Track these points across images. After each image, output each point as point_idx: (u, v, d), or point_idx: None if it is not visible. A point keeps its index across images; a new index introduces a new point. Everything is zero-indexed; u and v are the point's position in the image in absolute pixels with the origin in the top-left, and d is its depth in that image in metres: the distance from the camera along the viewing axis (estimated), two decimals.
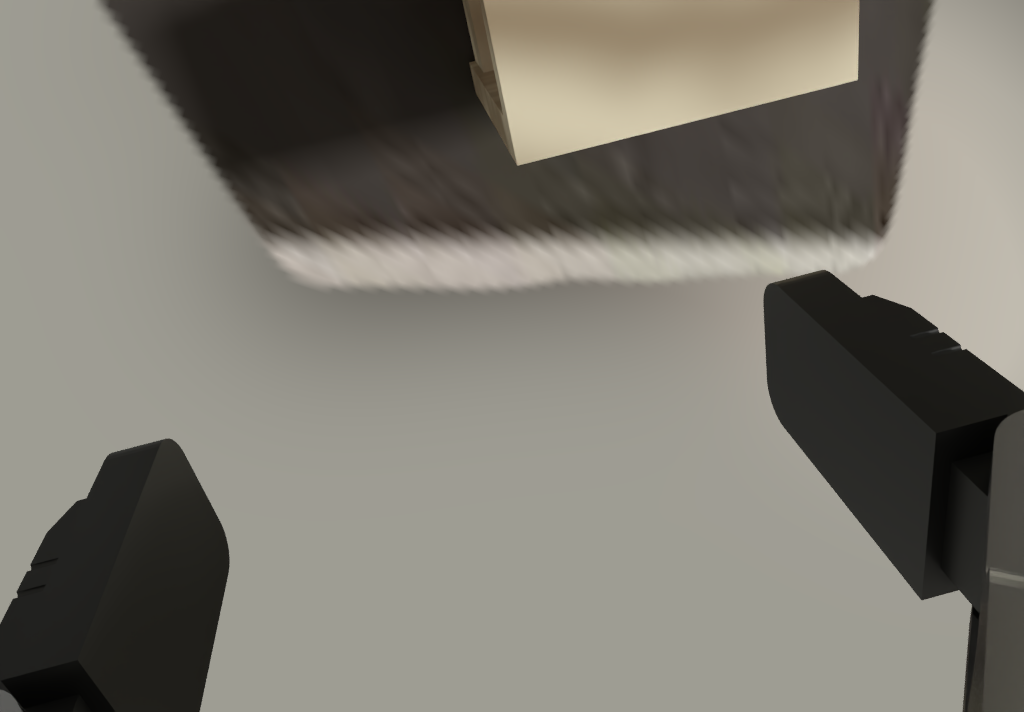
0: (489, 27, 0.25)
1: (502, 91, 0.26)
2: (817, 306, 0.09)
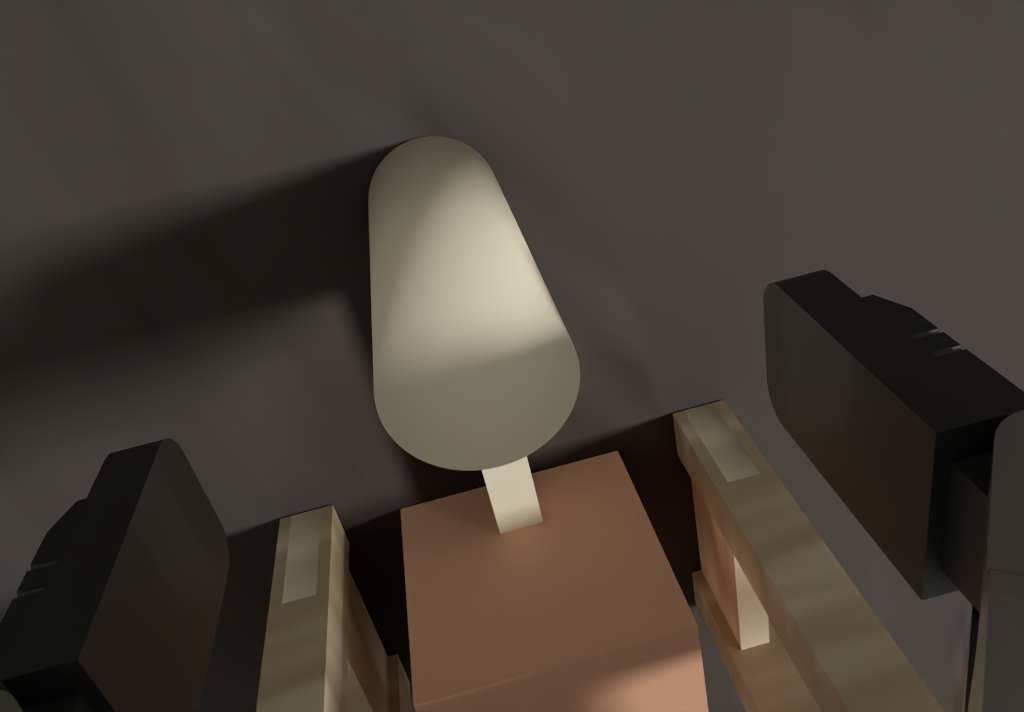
0: None
1: None
2: (817, 306, 0.09)
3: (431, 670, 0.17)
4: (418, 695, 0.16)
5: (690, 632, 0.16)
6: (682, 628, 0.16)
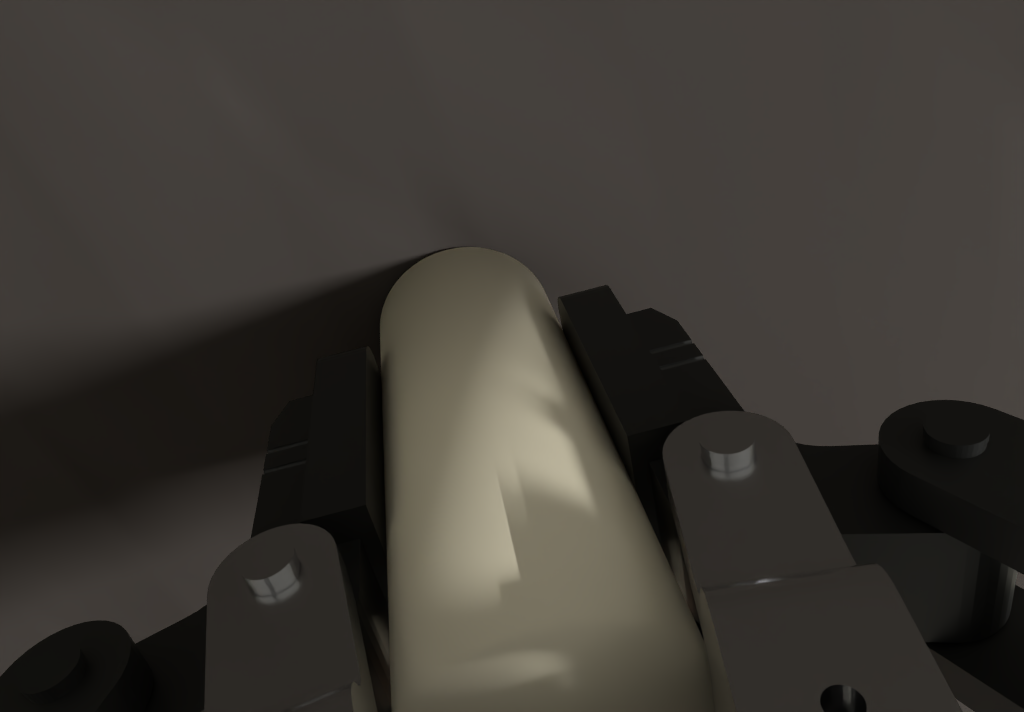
0: None
1: None
2: (584, 319, 0.10)
3: None
4: None
5: None
6: None
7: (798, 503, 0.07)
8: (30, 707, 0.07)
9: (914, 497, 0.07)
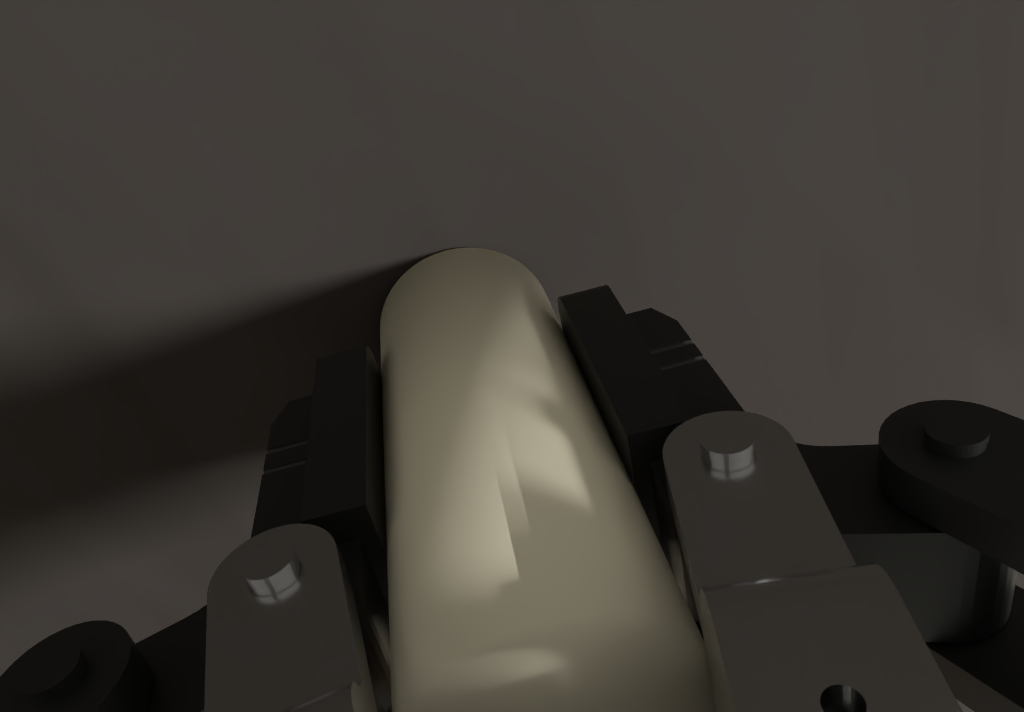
0: None
1: None
2: (584, 319, 0.10)
3: None
4: None
5: None
6: None
7: (798, 504, 0.07)
8: (30, 707, 0.07)
9: (914, 497, 0.07)
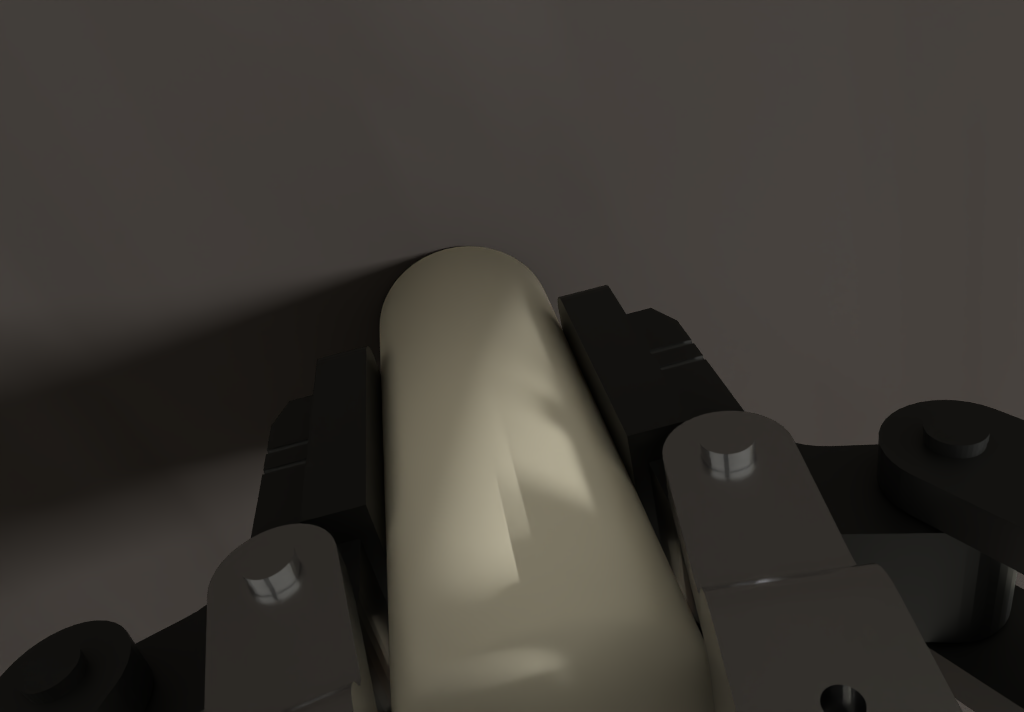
0: None
1: None
2: (584, 319, 0.10)
3: None
4: None
5: None
6: None
7: (798, 503, 0.07)
8: (29, 707, 0.07)
9: (914, 497, 0.07)
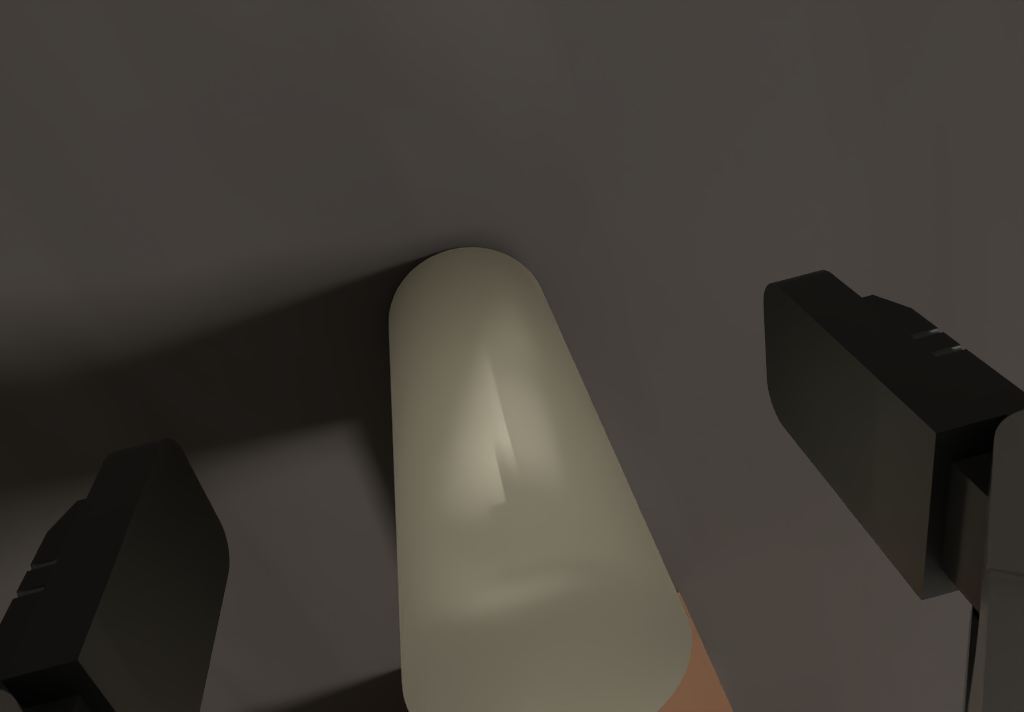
0: None
1: None
2: (817, 306, 0.09)
3: None
4: None
5: None
6: None
7: None
8: None
9: None
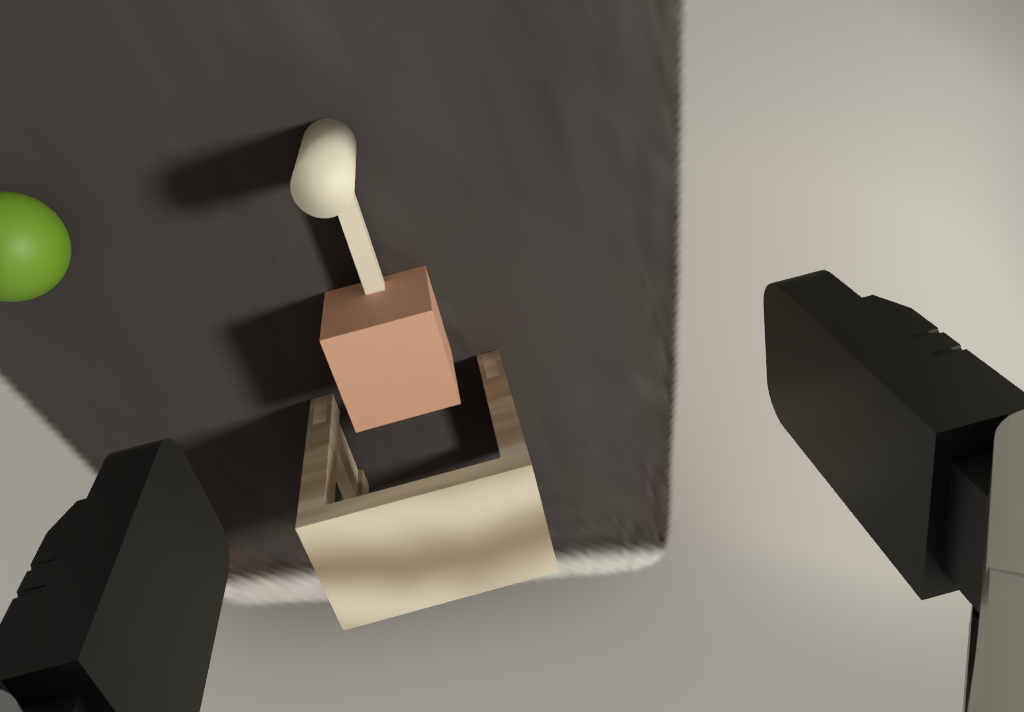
0: (316, 571, 0.41)
1: (328, 598, 0.42)
2: (817, 306, 0.09)
3: (328, 332, 0.42)
4: (321, 338, 0.41)
5: (429, 313, 0.41)
6: (426, 311, 0.41)
7: None
8: None
9: None
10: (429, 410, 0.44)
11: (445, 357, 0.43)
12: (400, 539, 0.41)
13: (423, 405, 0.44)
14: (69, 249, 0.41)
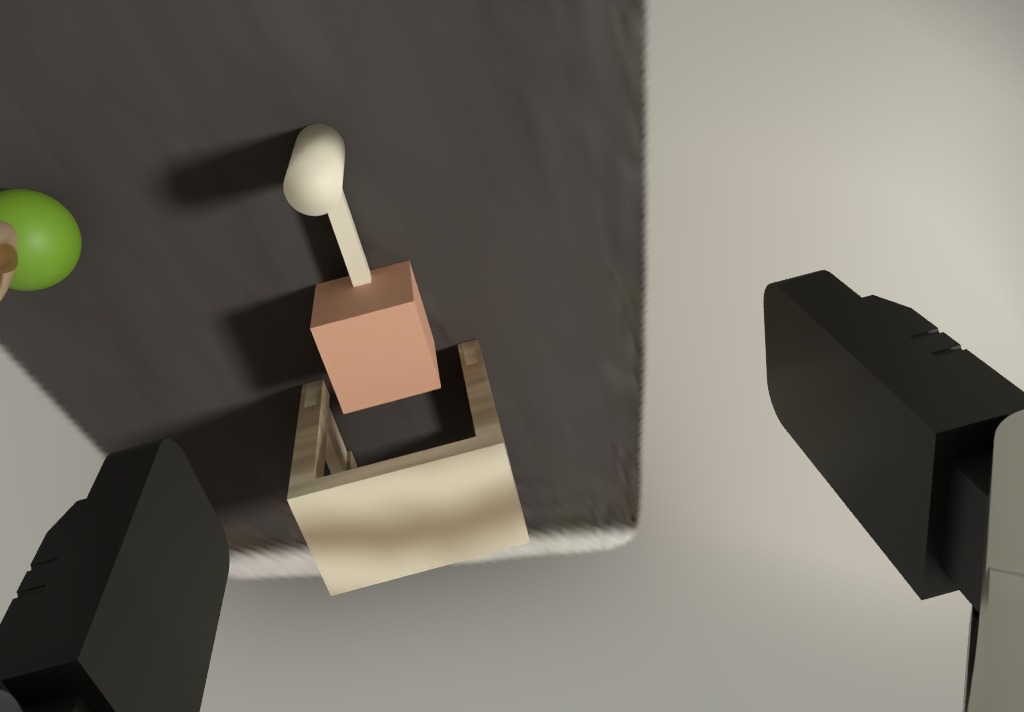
0: (306, 540, 0.45)
1: (317, 565, 0.46)
2: (817, 306, 0.09)
3: (318, 320, 0.46)
4: (312, 326, 0.45)
5: (411, 303, 0.45)
6: (408, 302, 0.45)
7: None
8: None
9: None
10: (411, 394, 0.48)
11: (426, 344, 0.47)
12: (383, 511, 0.44)
13: (406, 389, 0.48)
14: (80, 243, 0.44)
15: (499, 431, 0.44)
